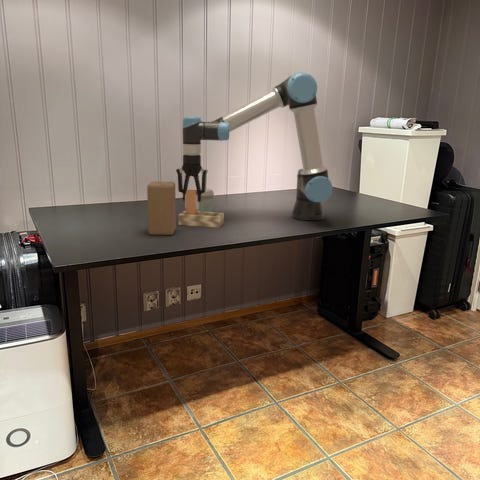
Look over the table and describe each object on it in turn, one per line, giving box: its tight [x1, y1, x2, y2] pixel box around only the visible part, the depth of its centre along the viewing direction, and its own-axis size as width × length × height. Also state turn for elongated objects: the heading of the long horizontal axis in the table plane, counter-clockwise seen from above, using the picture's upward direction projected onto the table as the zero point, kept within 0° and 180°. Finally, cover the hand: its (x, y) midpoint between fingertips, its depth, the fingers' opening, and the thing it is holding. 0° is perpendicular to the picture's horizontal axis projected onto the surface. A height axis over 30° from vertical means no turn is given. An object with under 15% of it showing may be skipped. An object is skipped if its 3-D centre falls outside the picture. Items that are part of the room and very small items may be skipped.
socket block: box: [178, 210, 225, 229], centre depth 204 cm, size 18×9×4 cm, turn 80°
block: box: [146, 180, 177, 236], centre depth 187 cm, size 10×10×20 cm
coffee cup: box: [198, 188, 215, 212], centre depth 220 cm, size 8×8×12 cm
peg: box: [185, 189, 198, 215], centre depth 203 cm, size 4×4×12 cm
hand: (192, 208), depth 204 cm, fingers closed on peg, 4 cm apart
